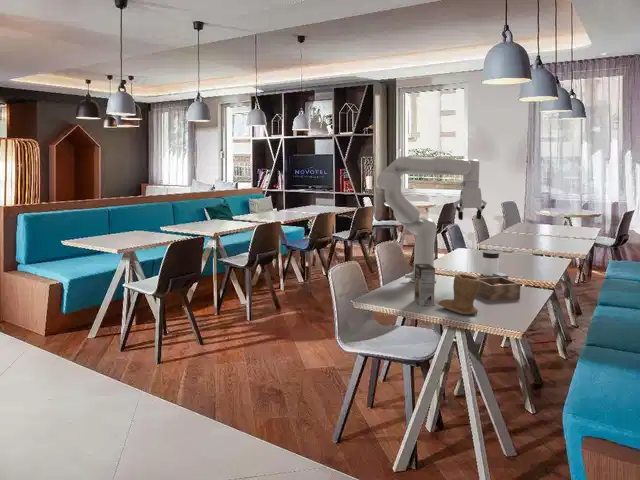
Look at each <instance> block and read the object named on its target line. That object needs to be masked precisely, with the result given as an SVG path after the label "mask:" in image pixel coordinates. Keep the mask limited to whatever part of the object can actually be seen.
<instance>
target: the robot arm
mask: <svg viewBox="0 0 640 480" xmlns="http://www.w3.org/2000/svg"><path fill="white" fill-rule="evenodd" d="M403 175H414V176H416V175H418V176H419V175H421V176H446V175H447V176H463V177H462V182H461V183H460V186H462V187H461V189H460V194H459V199H458V200H456V201H455V202H453V206H454V209H455V210H456V211H457V218H458V220H460V221H463V220H464V212H463V211H464V209H476V210H477V211H476V220H481V219H482V212H483V210H484V209H485V208H486V206H487V203H488V202H487V201H486V200H483V199H482V198H483V197H482V190H481V187H480V186H479V185H480V160H478V159H464V158H462V159H460V158H459V159H458V158H457V159H456V158H441V157H431V156H430V157H429V156H399V157H397V158H396V159H395V160H393V161H392V162H391V163H390V164H389V165H388V166H386V168H384V169H383V170H382V171H380V173H379V174H378V176H377V180H376V183H377V186H378V187H379V188H380V189H382V190H384V200H385V202H386V204H387V205H388V206H389V208H391V210H392V211H393V217H394V218H395V220H396V221H397V222H398V223H399V224H400V225H402V226H403V227H404V228H405V229H406V230H407V231H408V232H409V233H411V234H413V235H415V239H414V240H415V241H414V250H413V252H414V255H413V256H414V262H413V271H412V272H411V273H406V274H404V278H405V279H410V282H412V283H414V284H415V264H430V265H431V266H433V267H434V268H435V266H434V265H435V264H434V263H435V243H436V242H435V241H436V237H437V236H436V234H437V224H436V223H435V221H433V220H432V219H431V218H428V217H425V216H424V217H423V216H421V213H420V210H419V209H418V207H417V206H416V205H415V204H413V203H412V202H411V201H410V200H409V199H408V198H407V197H406V196H405V195H404V193H403V192H402V176H403ZM436 282H437V278H435V283H436Z"/></svg>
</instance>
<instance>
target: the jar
mask: <svg viewBox="0 0 640 480" xmlns="http://www.w3.org/2000/svg"><path fill="white" fill-rule="evenodd" d="M499 257H500V252H499V251H495V250H484V251H483V252H482V259H481V260H482V261H481V262H482V266H481V275H482V274H483V275H482V276H485V277H493V273H499V264H500V263H499V259H500V258H499Z"/></svg>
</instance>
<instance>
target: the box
mask: <svg viewBox="0 0 640 480" xmlns="http://www.w3.org/2000/svg"><path fill="white" fill-rule="evenodd" d="M478 279H479V280H480V287H479V290H478V293H477V295H479V296H481V297H483V298H484V299H487V300H489V301H498V300H510V299H511V300H512V299H520V298H521V283H519V282H517V281H515V280H514V281H513V280H511V279H509V278H508V279H506V278H503V277H494V278H493V277H481V278H480V277H479V278H478ZM495 283H501V284H504V285H494V284H495Z"/></svg>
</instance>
